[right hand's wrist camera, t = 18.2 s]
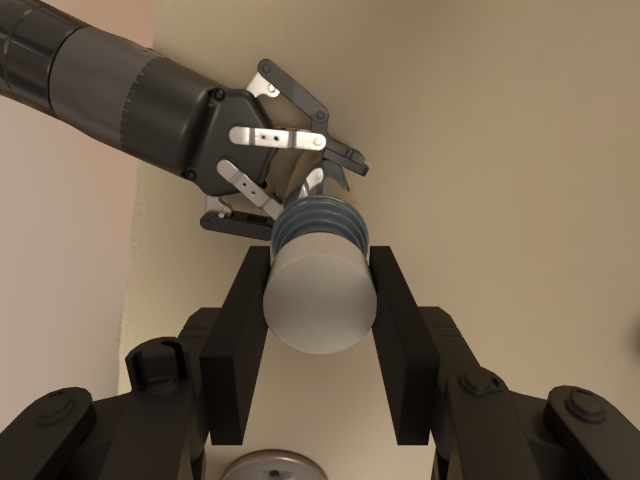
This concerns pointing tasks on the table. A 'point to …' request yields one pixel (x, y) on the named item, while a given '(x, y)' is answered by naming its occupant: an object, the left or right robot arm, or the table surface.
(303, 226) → the bottle
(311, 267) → the cap
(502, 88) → the table surface
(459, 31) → the table surface
